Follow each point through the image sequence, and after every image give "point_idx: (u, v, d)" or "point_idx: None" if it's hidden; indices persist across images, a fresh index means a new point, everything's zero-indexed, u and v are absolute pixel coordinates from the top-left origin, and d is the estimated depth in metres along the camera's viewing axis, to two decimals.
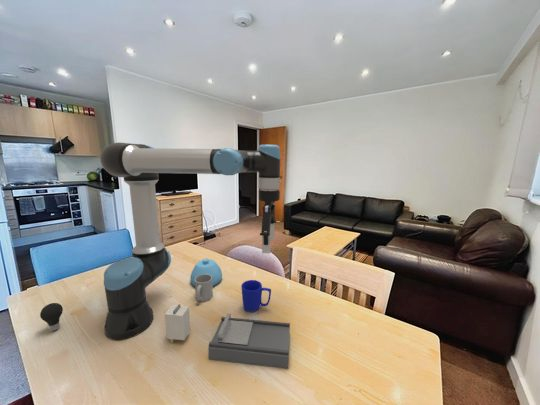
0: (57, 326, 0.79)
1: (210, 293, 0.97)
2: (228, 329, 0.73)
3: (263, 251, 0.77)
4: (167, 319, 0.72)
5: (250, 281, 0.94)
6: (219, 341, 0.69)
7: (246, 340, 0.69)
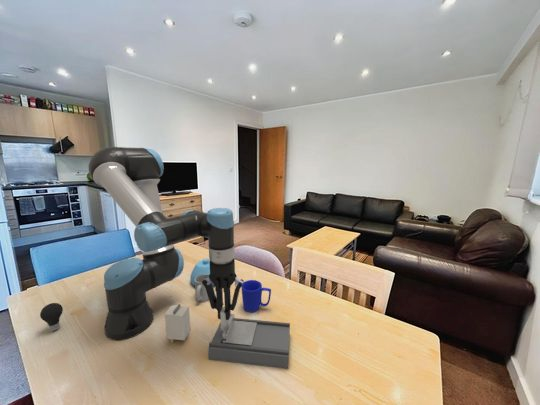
0: (57, 326, 0.79)
1: None
2: (232, 329, 0.73)
3: None
4: (167, 319, 0.72)
5: (250, 281, 0.94)
6: (223, 341, 0.68)
7: (250, 340, 0.69)
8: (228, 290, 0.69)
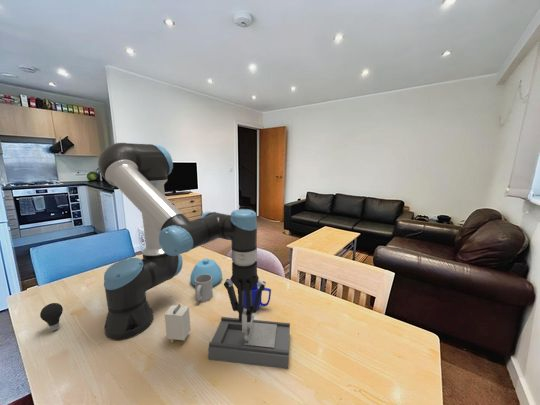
0: (57, 326, 0.79)
1: (210, 293, 0.97)
2: (253, 331, 0.73)
3: None
4: (167, 319, 0.72)
5: None
6: (245, 344, 0.68)
7: (272, 343, 0.68)
8: (250, 292, 0.69)
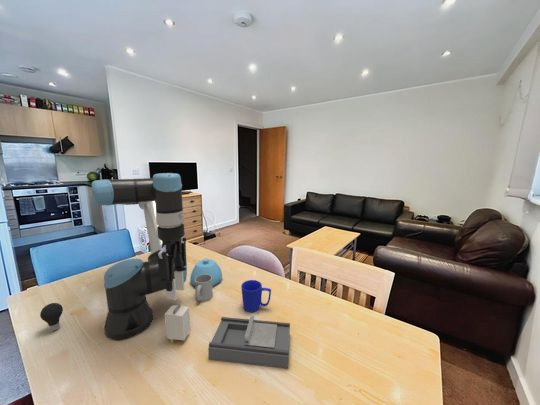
0: (57, 326, 0.79)
1: (210, 293, 0.97)
2: (253, 331, 0.73)
3: (168, 297, 0.70)
4: (167, 319, 0.72)
5: (250, 281, 0.94)
6: (245, 344, 0.68)
7: (273, 343, 0.68)
8: None
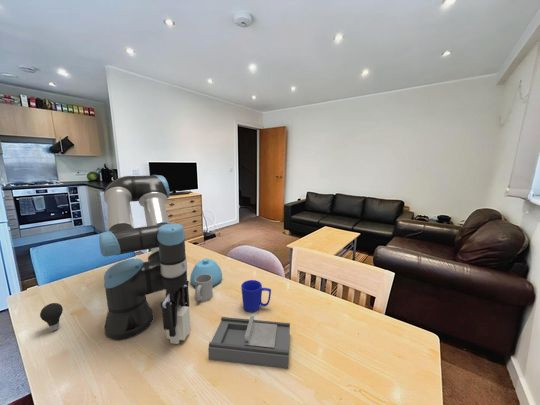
0: (57, 326, 0.79)
1: (210, 293, 0.97)
2: (253, 331, 0.73)
3: (171, 341, 0.73)
4: None
5: (250, 281, 0.94)
6: (245, 344, 0.68)
7: (273, 343, 0.68)
8: None
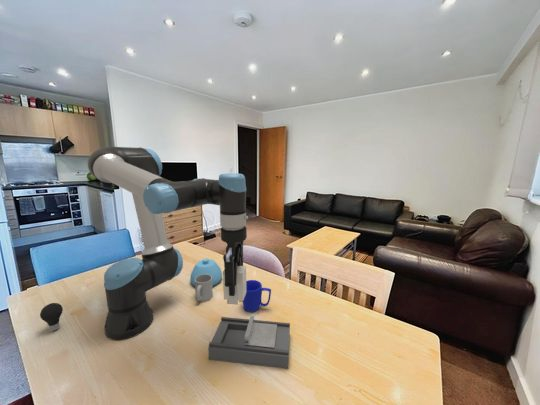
0: (57, 326, 0.79)
1: (210, 293, 0.97)
2: (253, 331, 0.73)
3: (229, 302, 0.67)
4: None
5: (250, 281, 0.94)
6: (245, 344, 0.68)
7: (273, 343, 0.68)
8: None
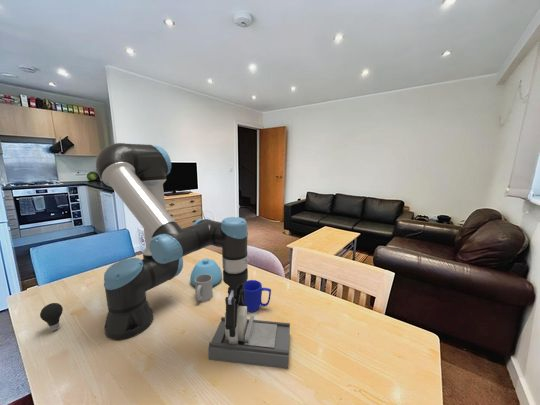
0: (57, 326, 0.79)
1: (210, 293, 0.97)
2: (253, 331, 0.73)
3: (230, 342, 0.69)
4: None
5: (250, 281, 0.94)
6: (245, 344, 0.68)
7: (273, 343, 0.68)
8: None
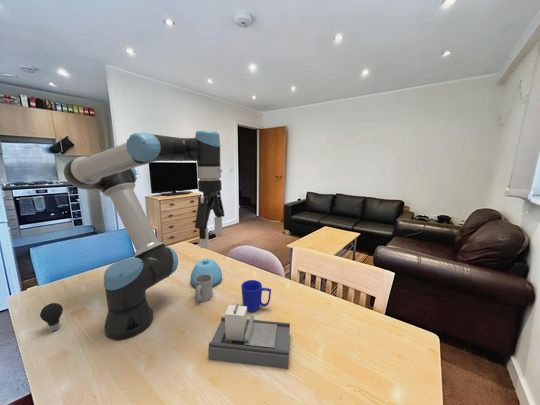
0: (57, 326, 0.79)
1: (210, 293, 0.97)
2: (253, 331, 0.73)
3: (201, 246, 0.72)
4: (227, 319, 0.70)
5: (250, 281, 0.94)
6: (245, 344, 0.68)
7: (273, 343, 0.68)
8: None
